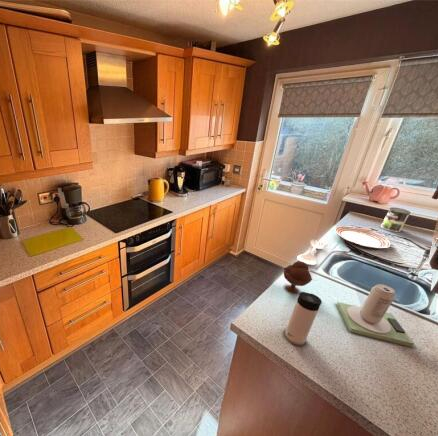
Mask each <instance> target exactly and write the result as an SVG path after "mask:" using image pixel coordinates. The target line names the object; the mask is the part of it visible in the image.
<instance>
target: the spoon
mask: <svg viewBox="0 0 438 436" xmlns="http://www.w3.org/2000/svg"><path fill="white" fill-rule="evenodd" d="M317 242H318V243H317ZM314 244H315V245H314ZM328 245H329V243H324V242H322V243H321V242H320V241H317V240H315V239H313V237H312V238H311V239H310V246H312V247H311V248H309V249H310V251H309V252H306V253H302V254H298V255H297V256H296V259H297V261H302V262H305V263H306V264H307V265H308V266H315V265H317V262H318V261H317V258H316V257H315V255H314V252H315V253H316V252H317V250H322V249H325V248H327V246H328ZM302 255H303V256H302ZM301 256H302V257H301Z"/></svg>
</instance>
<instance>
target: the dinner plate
mask: <svg viewBox="0 0 438 436" xmlns="http://www.w3.org/2000/svg"><path fill="white" fill-rule="evenodd" d="M360 232H362V233H360ZM334 233H335V234H337V236H339V237H340V238H341V239H343V240H345V241H347V242H348V243H349V242H350V243H351V244H354V243H355V244H354V245H357V244H358V245H357V246H360V247H366V248H373V249H387V248H390V247H391V245H392V243H391V242H390V241H389V239H387V238H386V237H384V236H383V235H381V234H379V233H376V232H374V231H371V230H368V229H365V228H361V227H357V226H349V225H340V226H336V227H334ZM364 233H367V234H364ZM368 234H370V235H373V236H376V237H378V238H379V239H381V240H382V241H383V242H384V243H385V245H384V246H383V242H382V241H381V240H379V239H377V238H375V237H373V236H370V235H368ZM381 246H382V247H381Z"/></svg>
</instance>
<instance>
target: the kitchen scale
mask: <svg viewBox="0 0 438 436" xmlns="http://www.w3.org/2000/svg"><path fill="white" fill-rule="evenodd" d="M336 308H337V309H338V311H339V313H340V315H341V317H342V319H343V320H344V323H345V325H346V327H347V329H348V331H349V333H353V334H358V335H361V336H365V337H369V338H374V339H379V340H382V341H386V342H391V343H395V344H398V345H401V346H402V345H403V346H406V347H412V348H413V347H414V345H415V342H414V341H413V340H412V338H411V337H410V336H409V334H408V333H407V332H406V330H405V329H404V328H403V326H402V325H401V324H400V323H399V321H398V320H397V319H396V317H395V316H394V315H393V313H391V312H387V311H386V313H385V314H384V316H383V318H382V319H381V321H380V323H376V324H371V323H368V322H366V321H365V320H363V319H362V318H361V316H360V314H359V312H360V310H361V308H362V306H359V305H353V304H349V303H345V302H340V301H338V302H337V303H336Z"/></svg>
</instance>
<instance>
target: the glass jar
mask: <svg viewBox="0 0 438 436" xmlns="http://www.w3.org/2000/svg"><path fill="white" fill-rule="evenodd" d="M410 214H411V211H409V210H407V209H404V208H400V207H389V208H388V211H387V212H386V215H385V217H384V219H383V221H382V223H381V225H380V228H382V229H384V230H386V231H390V232H393V233H399V232H401V231H402V229H403V227H404V225H405V224H406V222H407V220H408V218H409V216H410Z"/></svg>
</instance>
